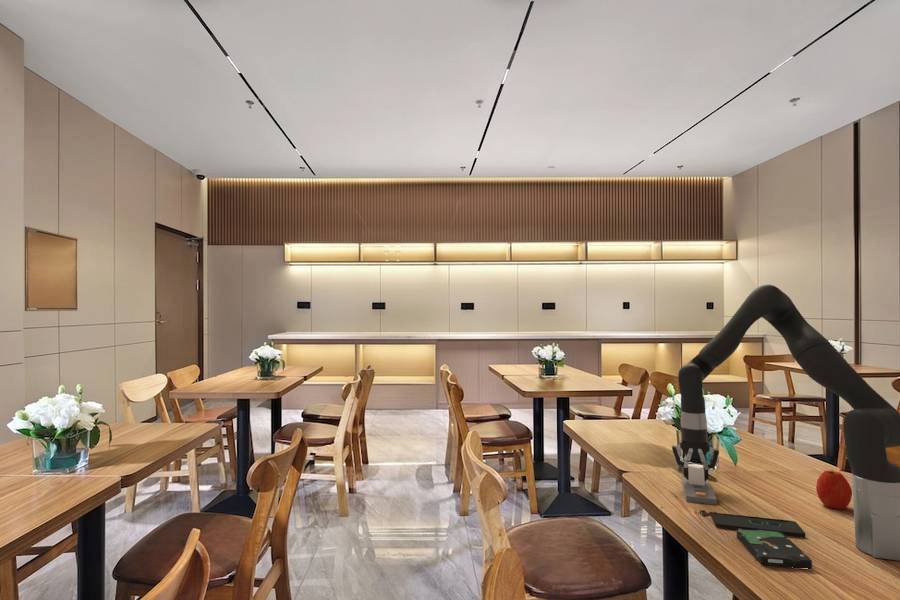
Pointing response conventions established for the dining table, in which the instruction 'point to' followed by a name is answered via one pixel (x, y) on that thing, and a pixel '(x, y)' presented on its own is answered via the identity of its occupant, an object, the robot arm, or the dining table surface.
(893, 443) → the robot arm
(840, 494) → the apple
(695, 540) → the dining table surface
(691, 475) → the charger
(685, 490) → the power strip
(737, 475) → the dining table surface
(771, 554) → the disk drive
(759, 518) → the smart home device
